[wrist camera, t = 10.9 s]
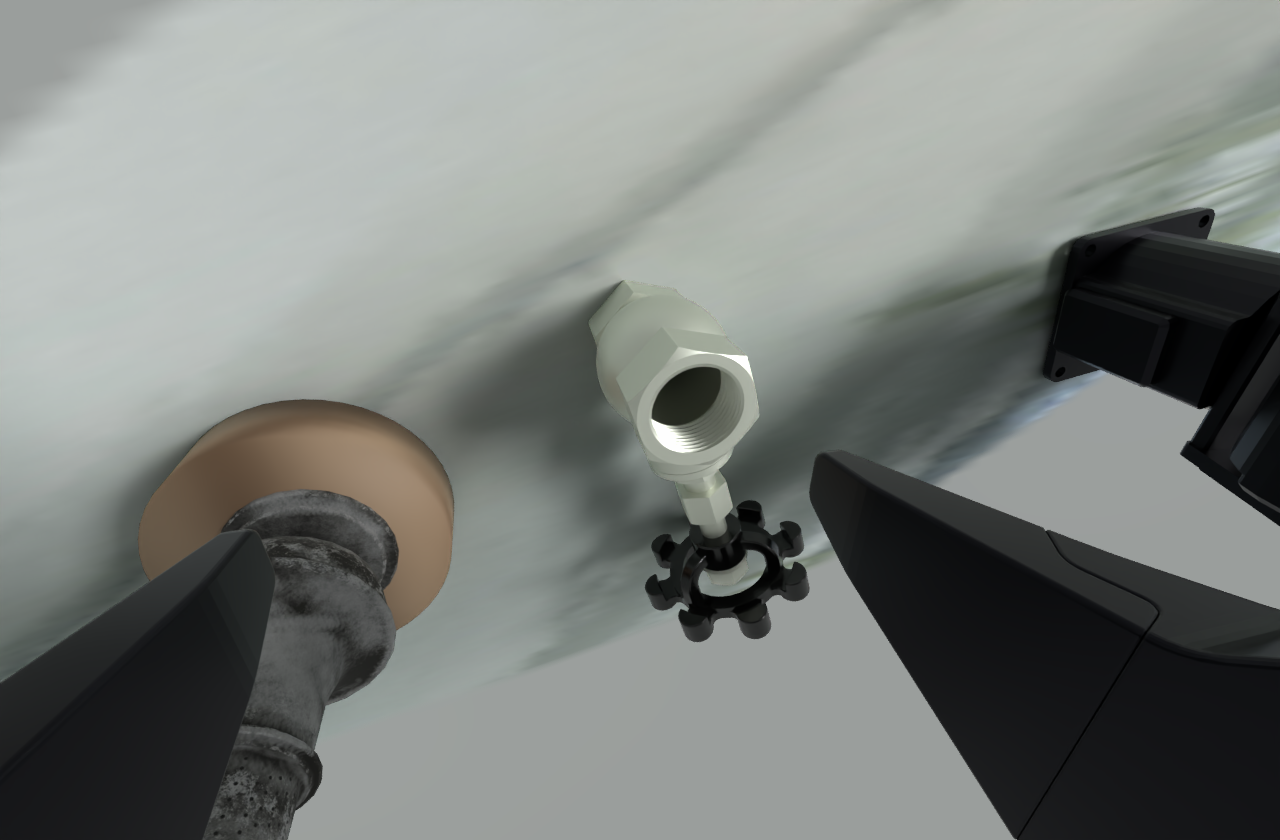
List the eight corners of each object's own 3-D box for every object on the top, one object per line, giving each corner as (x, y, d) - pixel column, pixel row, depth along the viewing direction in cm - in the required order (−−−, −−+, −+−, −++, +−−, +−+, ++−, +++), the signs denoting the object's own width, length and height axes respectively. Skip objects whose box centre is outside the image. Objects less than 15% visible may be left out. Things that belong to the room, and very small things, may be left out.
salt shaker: (186, 483, 17) (-281, 1089, 6) (404, 478, 18) (310, 955, 8) (225, 628, 19) (-62, 1221, 9) (412, 613, 21) (349, 1100, 11)
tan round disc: (403, 370, 19) (394, 403, 17) (483, 562, 24) (484, 607, 22) (114, 440, 18) (64, 486, 16) (258, 628, 22) (235, 683, 20)
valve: (530, 308, 19) (633, 549, 26) (550, 391, 14) (676, 675, 20) (710, 240, 20) (767, 495, 26) (801, 294, 14) (847, 603, 20)
